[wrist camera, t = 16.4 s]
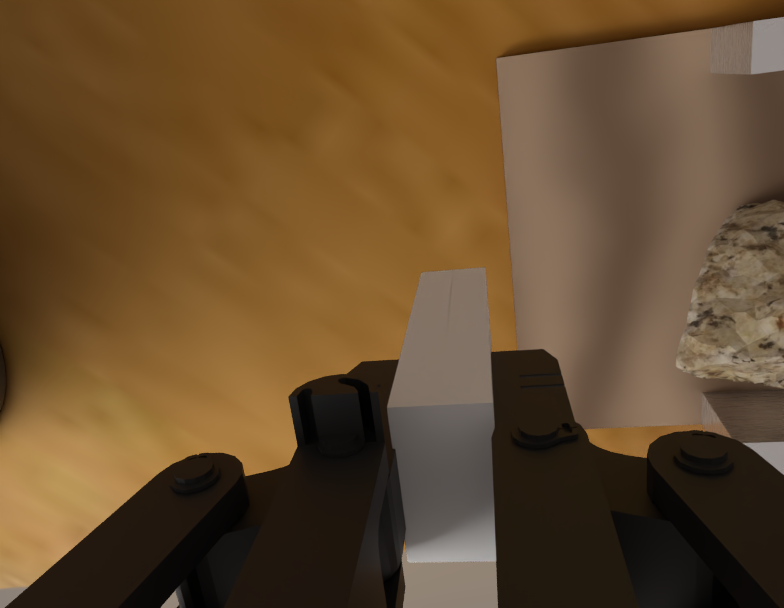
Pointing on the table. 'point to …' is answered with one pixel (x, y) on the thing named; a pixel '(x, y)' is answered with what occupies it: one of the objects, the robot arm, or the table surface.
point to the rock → (739, 301)
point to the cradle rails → (756, 407)
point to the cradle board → (628, 209)
